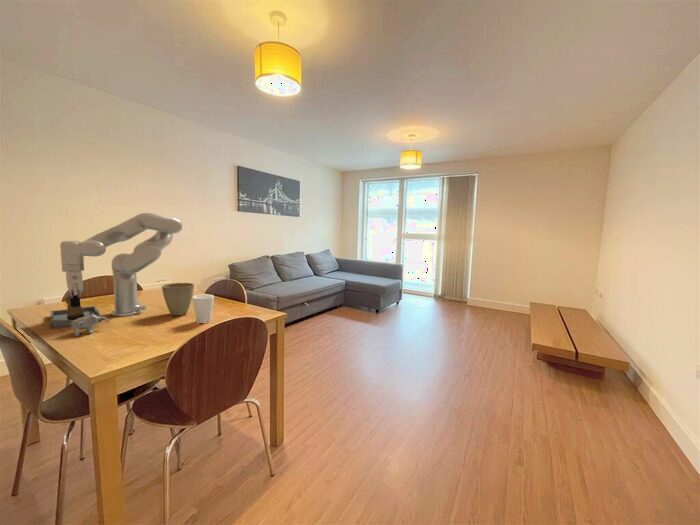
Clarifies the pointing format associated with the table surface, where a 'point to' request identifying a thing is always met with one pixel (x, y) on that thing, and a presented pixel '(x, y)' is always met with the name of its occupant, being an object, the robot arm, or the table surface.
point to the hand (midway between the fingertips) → (75, 305)
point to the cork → (73, 310)
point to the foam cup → (203, 307)
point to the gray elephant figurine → (85, 323)
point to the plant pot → (178, 297)
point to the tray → (61, 316)
